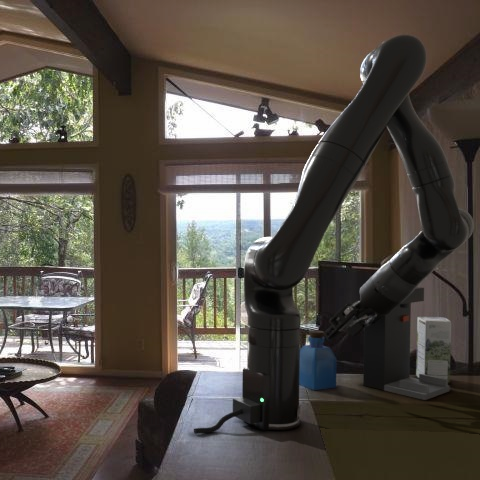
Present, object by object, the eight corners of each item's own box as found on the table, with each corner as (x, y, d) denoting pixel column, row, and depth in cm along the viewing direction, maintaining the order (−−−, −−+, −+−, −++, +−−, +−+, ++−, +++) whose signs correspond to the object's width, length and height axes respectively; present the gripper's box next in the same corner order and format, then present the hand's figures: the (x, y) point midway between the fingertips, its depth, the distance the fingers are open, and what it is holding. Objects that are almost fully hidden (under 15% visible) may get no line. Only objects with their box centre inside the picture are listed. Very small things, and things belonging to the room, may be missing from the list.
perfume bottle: (295, 383, 130) (296, 330, 130) (317, 380, 132) (318, 328, 132) (313, 390, 124) (314, 334, 124) (336, 387, 127) (337, 332, 127)
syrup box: (440, 377, 137) (441, 316, 136) (450, 383, 131) (451, 320, 130) (415, 376, 137) (416, 315, 137) (424, 382, 131) (425, 319, 131)
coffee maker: (425, 400, 117) (426, 293, 117) (363, 385, 128) (364, 287, 128) (449, 391, 124) (451, 290, 124) (389, 378, 135) (390, 284, 135)
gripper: (395, 271, 121) (346, 318, 130) (357, 274, 112) (307, 324, 121) (419, 298, 117) (367, 345, 126) (382, 304, 108) (329, 354, 117)
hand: (338, 335), depth 124 cm, fingers open, 8 cm apart
